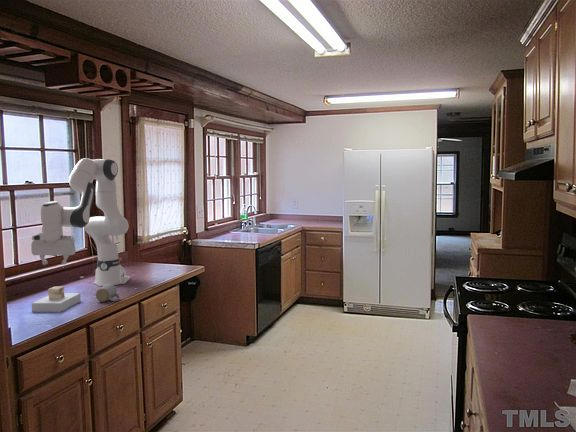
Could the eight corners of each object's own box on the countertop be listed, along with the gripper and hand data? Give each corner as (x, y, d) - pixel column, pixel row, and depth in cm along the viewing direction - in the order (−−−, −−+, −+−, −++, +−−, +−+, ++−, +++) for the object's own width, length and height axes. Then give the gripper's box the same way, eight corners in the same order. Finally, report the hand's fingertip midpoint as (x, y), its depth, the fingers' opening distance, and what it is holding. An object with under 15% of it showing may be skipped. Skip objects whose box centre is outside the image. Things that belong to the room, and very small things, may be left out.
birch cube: (54, 296, 232) (54, 286, 231) (64, 296, 231) (63, 286, 231) (48, 299, 227) (48, 289, 226) (58, 299, 226) (58, 289, 226)
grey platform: (53, 300, 239) (53, 293, 238) (80, 301, 238) (80, 293, 237) (32, 311, 221) (31, 303, 220) (61, 311, 220) (60, 303, 219)
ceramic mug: (94, 302, 235) (94, 287, 234) (102, 298, 243) (102, 283, 242) (115, 303, 234) (114, 287, 233) (122, 298, 242) (122, 283, 241)
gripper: (77, 234, 228) (78, 262, 230) (36, 234, 230) (38, 263, 231) (70, 236, 222) (72, 265, 224) (28, 236, 224) (30, 265, 225)
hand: (54, 264), depth 227 cm, fingers open, 8 cm apart
